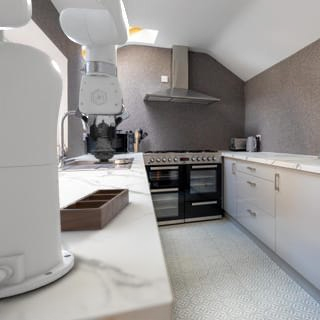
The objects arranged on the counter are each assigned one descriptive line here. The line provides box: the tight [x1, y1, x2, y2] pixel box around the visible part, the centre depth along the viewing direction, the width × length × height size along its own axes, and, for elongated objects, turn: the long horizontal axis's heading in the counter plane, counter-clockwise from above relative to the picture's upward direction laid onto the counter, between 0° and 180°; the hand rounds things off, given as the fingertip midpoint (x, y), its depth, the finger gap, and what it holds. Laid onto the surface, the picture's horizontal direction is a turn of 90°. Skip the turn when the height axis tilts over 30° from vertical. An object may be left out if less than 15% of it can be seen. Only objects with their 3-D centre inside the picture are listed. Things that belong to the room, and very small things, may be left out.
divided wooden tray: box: [60, 188, 130, 232], centre depth 67 cm, size 25×9×4 cm, turn 10°
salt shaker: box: [91, 119, 116, 165], centre depth 71 cm, size 6×6×12 cm
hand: (103, 140), depth 71 cm, fingers closed on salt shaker, 3 cm apart
